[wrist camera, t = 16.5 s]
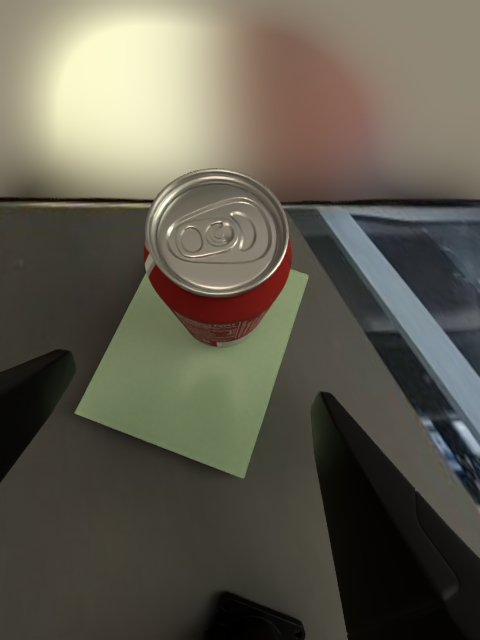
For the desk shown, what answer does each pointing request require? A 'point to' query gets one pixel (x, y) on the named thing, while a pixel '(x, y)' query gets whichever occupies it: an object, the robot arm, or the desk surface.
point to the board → (190, 380)
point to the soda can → (217, 253)
